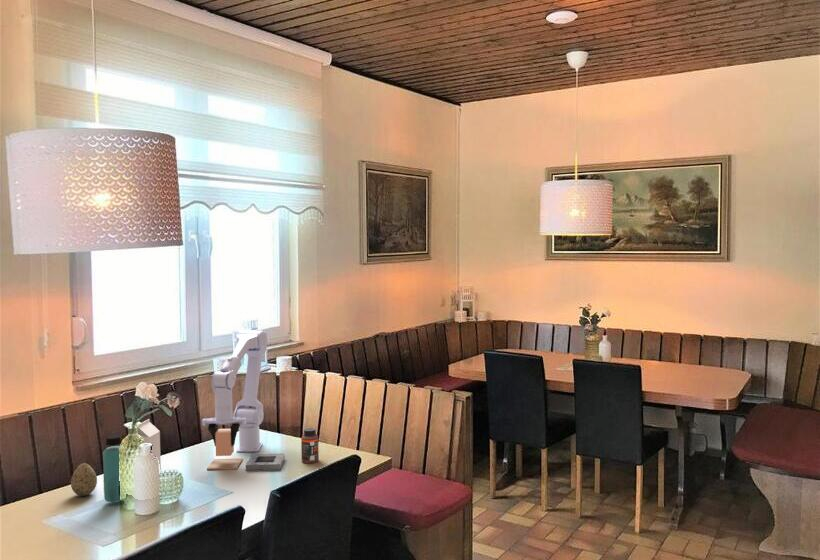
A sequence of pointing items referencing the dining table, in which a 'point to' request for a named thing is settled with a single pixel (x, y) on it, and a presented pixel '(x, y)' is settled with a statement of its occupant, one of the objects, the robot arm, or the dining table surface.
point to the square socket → (265, 462)
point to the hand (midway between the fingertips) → (224, 445)
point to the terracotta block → (223, 442)
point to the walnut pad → (225, 464)
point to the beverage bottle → (111, 469)
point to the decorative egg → (83, 480)
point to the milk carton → (151, 437)
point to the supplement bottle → (309, 446)
